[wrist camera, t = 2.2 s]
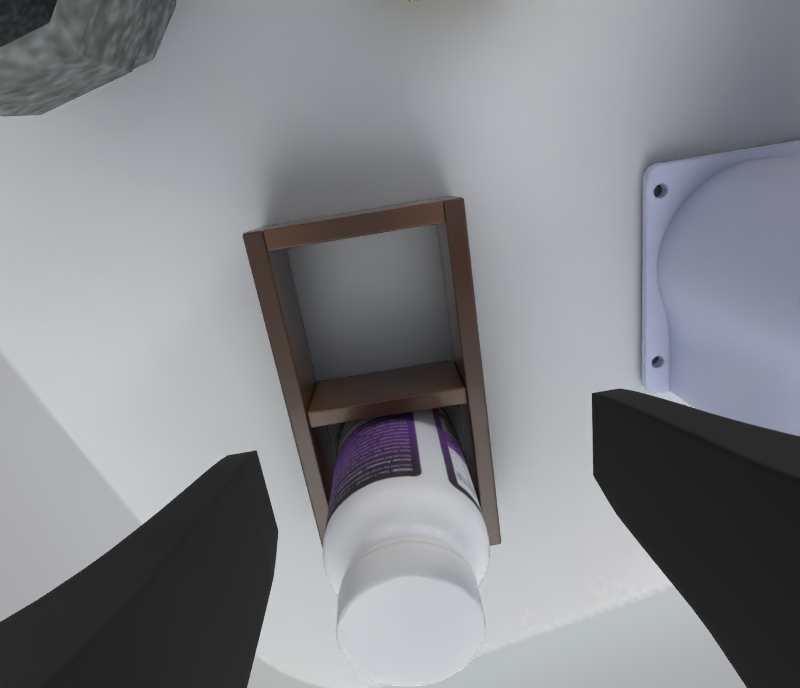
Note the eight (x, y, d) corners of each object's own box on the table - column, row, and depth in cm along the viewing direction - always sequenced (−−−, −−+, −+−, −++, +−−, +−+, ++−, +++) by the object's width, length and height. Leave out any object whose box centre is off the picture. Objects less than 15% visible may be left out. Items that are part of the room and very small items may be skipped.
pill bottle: (324, 478, 22) (285, 687, 13) (358, 375, 21) (340, 529, 11) (434, 506, 23) (470, 723, 14) (474, 409, 21) (546, 579, 12)
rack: (451, 195, 18) (464, 197, 16) (486, 499, 23) (501, 544, 20) (262, 226, 19) (241, 233, 16) (334, 523, 23) (327, 571, 20)
